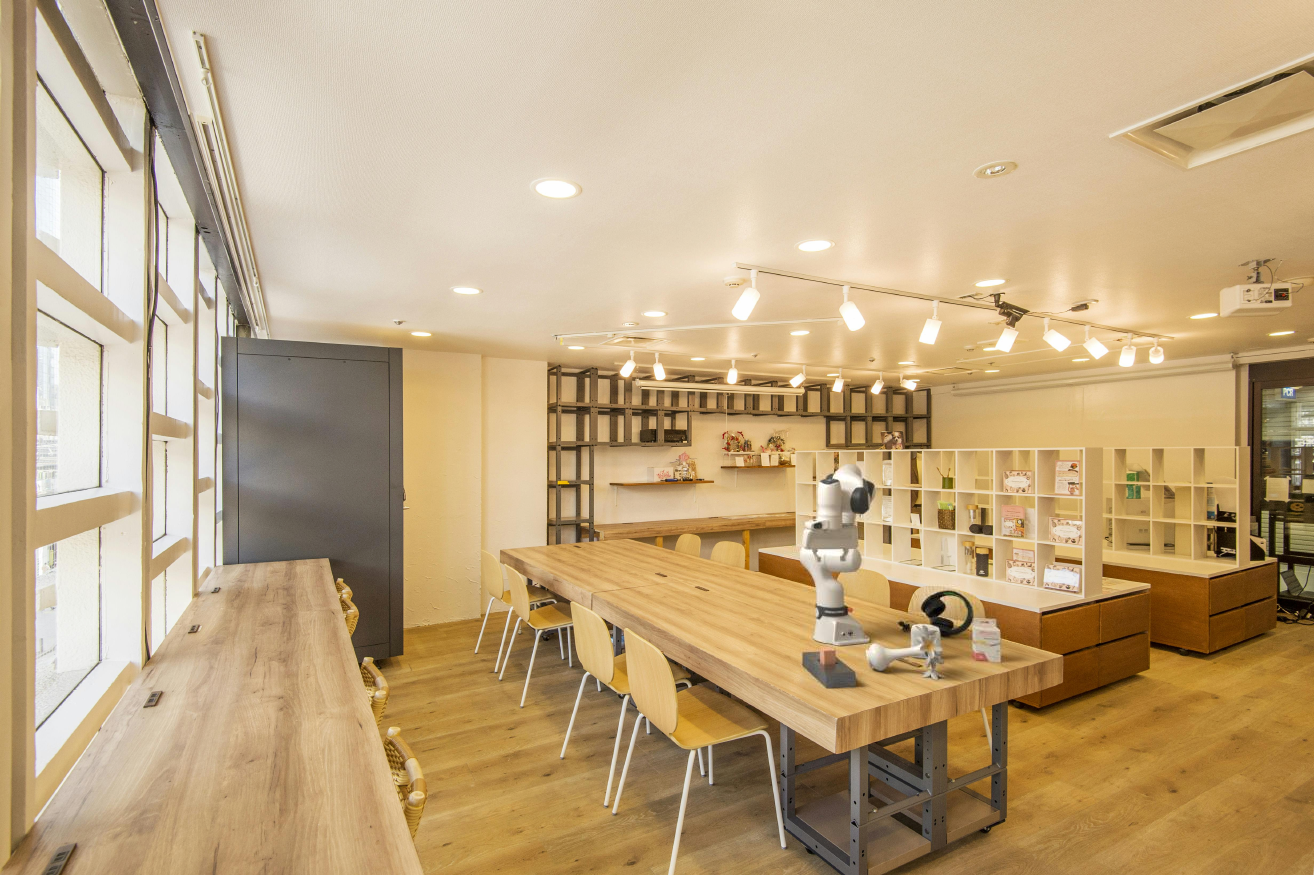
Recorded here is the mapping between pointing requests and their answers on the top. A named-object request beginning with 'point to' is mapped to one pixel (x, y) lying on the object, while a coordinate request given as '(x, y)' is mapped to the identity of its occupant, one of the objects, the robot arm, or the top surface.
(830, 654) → the terracotta peg
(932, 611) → the headset
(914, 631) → the photo printer
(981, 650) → the ink cartridge box
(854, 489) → the robot arm
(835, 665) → the rail
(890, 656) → the flower vase
